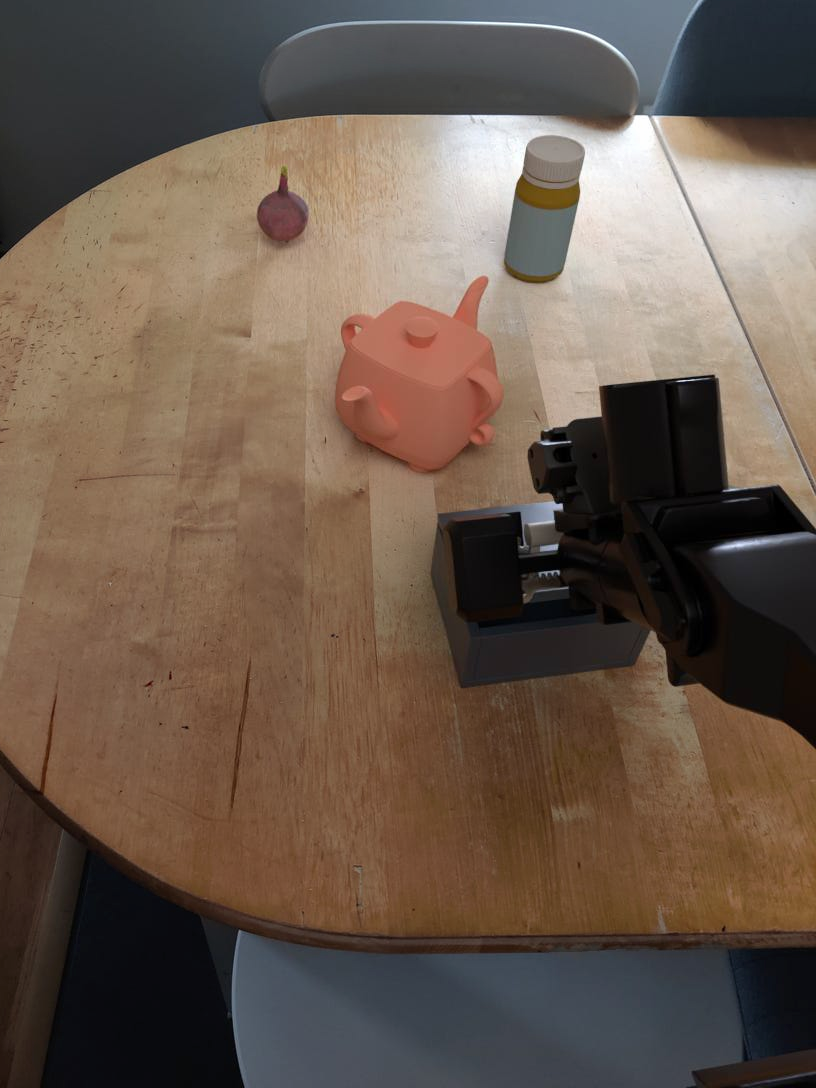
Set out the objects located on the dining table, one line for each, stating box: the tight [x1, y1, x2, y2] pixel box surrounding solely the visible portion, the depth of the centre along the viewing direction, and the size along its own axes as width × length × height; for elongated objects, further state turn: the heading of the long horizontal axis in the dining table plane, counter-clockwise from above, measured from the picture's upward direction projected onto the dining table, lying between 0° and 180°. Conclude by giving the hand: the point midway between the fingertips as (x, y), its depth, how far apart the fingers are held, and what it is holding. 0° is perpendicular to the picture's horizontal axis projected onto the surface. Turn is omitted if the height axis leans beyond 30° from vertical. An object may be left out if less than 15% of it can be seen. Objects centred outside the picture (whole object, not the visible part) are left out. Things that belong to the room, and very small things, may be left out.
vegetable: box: [256, 165, 310, 244], centre depth 104 cm, size 6×6×10 cm
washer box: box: [430, 521, 652, 689], centre depth 68 cm, size 11×14×7 cm
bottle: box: [503, 134, 586, 284], centre depth 99 cm, size 7×7×15 cm
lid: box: [437, 500, 569, 603], centre depth 63 cm, size 11×14×5 cm
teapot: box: [334, 275, 505, 473], centre depth 81 cm, size 15×17×13 cm
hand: (550, 538), depth 63 cm, fingers open, 7 cm apart
